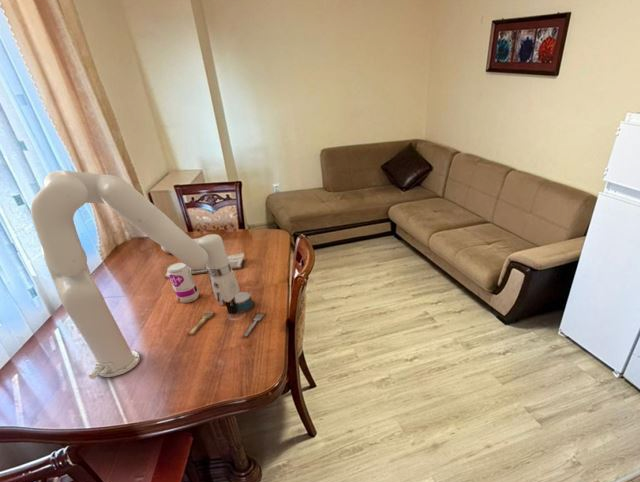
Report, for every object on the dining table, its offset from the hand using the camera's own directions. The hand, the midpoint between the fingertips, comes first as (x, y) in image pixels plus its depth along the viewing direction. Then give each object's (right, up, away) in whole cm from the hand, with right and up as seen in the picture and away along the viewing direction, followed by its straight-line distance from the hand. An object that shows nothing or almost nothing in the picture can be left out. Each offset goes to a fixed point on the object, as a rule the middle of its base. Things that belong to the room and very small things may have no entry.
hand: (233, 312), depth 148 cm
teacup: (-53, +34, +59) cm, 86 cm away
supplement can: (-24, +6, +15) cm, 29 cm away
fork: (+9, -5, -5) cm, 12 cm away
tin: (+1, +2, +6) cm, 7 cm away
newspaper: (-27, +23, +40) cm, 53 cm away
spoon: (-11, -4, -2) cm, 12 cm away
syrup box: (-13, +11, +21) cm, 27 cm away
